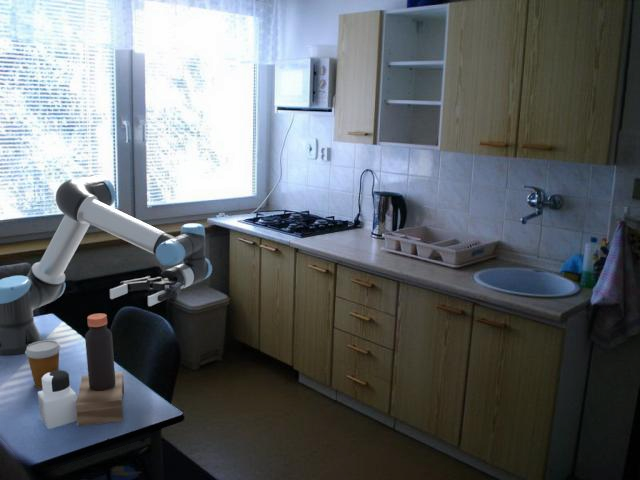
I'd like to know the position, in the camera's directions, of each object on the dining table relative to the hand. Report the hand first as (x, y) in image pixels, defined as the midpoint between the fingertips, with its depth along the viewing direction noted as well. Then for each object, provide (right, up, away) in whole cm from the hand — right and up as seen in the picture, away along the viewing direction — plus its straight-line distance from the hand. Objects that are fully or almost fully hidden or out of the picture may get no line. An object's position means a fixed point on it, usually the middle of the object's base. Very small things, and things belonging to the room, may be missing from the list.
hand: (129, 297), depth 176 cm
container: (-15, -31, -12) cm, 37 cm away
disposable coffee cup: (-27, -26, +8) cm, 39 cm away
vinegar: (-5, -24, -6) cm, 25 cm away
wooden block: (-6, -29, -6) cm, 31 cm away
